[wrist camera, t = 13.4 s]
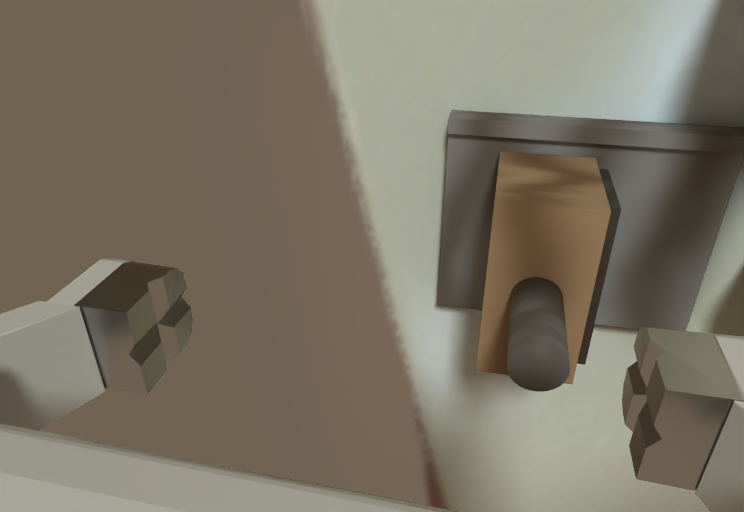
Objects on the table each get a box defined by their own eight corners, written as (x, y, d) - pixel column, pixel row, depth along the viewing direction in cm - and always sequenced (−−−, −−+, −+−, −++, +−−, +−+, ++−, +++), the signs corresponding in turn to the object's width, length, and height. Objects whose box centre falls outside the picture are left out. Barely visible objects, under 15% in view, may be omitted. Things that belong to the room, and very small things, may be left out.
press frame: (1053, 146, 33) (1235, 225, 24) (927, 353, 40) (1033, 468, 32) (451, 110, 40) (431, 162, 31) (439, 293, 47) (420, 375, 39)
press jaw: (608, 158, 37) (648, 274, 25) (576, 312, 43) (595, 465, 31) (500, 151, 38) (488, 256, 26) (483, 301, 44) (467, 443, 32)
